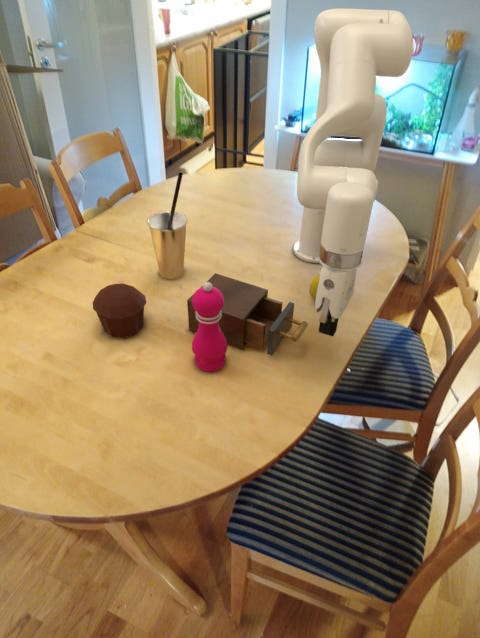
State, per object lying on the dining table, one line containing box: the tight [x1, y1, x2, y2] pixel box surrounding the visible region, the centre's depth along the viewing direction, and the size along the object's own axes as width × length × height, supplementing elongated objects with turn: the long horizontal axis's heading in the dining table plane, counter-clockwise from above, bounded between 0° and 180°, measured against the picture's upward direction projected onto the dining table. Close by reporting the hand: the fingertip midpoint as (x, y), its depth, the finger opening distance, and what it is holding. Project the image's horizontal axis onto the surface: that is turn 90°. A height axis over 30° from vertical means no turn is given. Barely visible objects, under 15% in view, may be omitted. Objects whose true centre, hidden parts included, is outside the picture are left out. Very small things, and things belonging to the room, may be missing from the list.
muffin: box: [92, 283, 147, 339], centre depth 105 cm, size 12×11×10 cm
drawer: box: [244, 296, 309, 357], centre depth 102 cm, size 17×11×7 cm, turn 62°
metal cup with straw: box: [146, 172, 189, 280], centre depth 115 cm, size 11×11×30 cm
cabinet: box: [186, 273, 269, 351], centre depth 106 cm, size 14×12×9 cm
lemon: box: [308, 273, 321, 301], centre depth 114 cm, size 6×6×8 cm
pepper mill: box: [191, 281, 228, 373], centre depth 93 cm, size 7×7×20 cm
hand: (327, 332), depth 96 cm, fingers closed
